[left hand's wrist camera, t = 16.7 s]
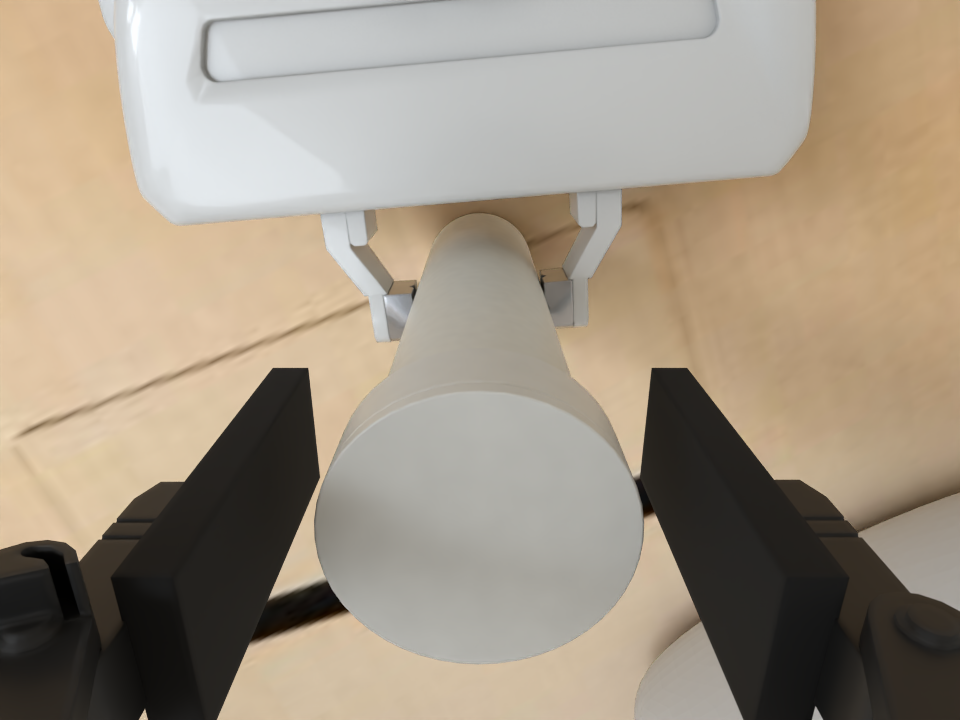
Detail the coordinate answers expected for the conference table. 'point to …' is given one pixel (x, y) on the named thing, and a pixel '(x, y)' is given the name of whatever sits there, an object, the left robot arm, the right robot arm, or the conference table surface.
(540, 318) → the off-white tall cylinder
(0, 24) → the conference table surface
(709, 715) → the projector
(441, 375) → the lid
